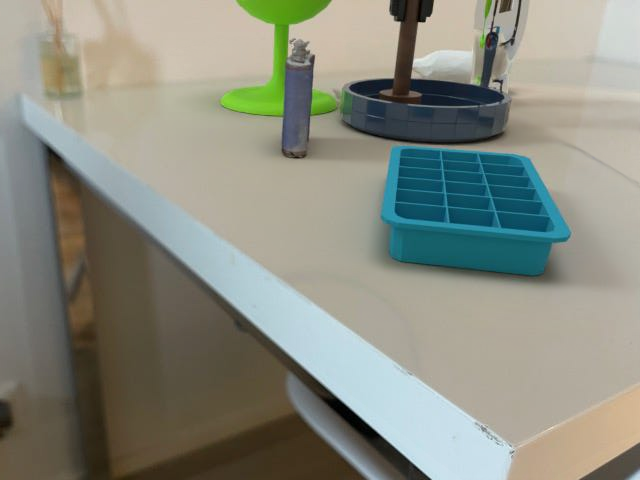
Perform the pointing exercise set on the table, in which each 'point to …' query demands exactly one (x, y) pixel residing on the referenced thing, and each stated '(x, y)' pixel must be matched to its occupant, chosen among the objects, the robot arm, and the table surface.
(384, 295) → the table surface
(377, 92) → the bowl
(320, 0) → the wineglass
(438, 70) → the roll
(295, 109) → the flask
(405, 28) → the wooden towel stand
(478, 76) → the beer glass
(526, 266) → the ice cube tray
